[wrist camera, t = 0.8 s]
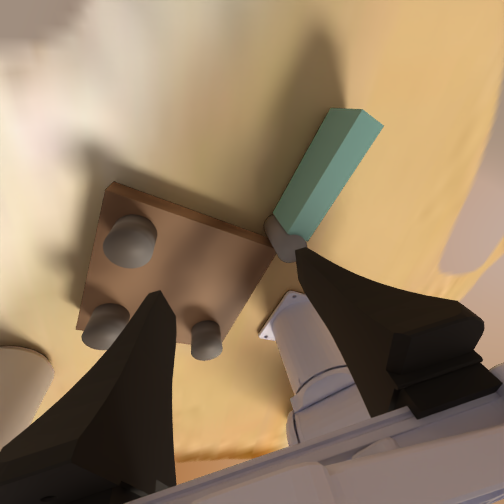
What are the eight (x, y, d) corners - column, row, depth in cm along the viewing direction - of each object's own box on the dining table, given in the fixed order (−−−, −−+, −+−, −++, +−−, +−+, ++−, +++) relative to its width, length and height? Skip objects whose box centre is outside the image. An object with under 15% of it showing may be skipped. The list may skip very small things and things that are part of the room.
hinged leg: (280, 239, 23) (296, 265, 19) (259, 232, 22) (272, 258, 18) (350, 122, 18) (389, 127, 15) (327, 106, 17) (363, 107, 14)
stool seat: (272, 239, 23) (287, 265, 19) (217, 333, 29) (220, 368, 25) (113, 181, 17) (91, 203, 14) (84, 313, 23) (62, 354, 19)
